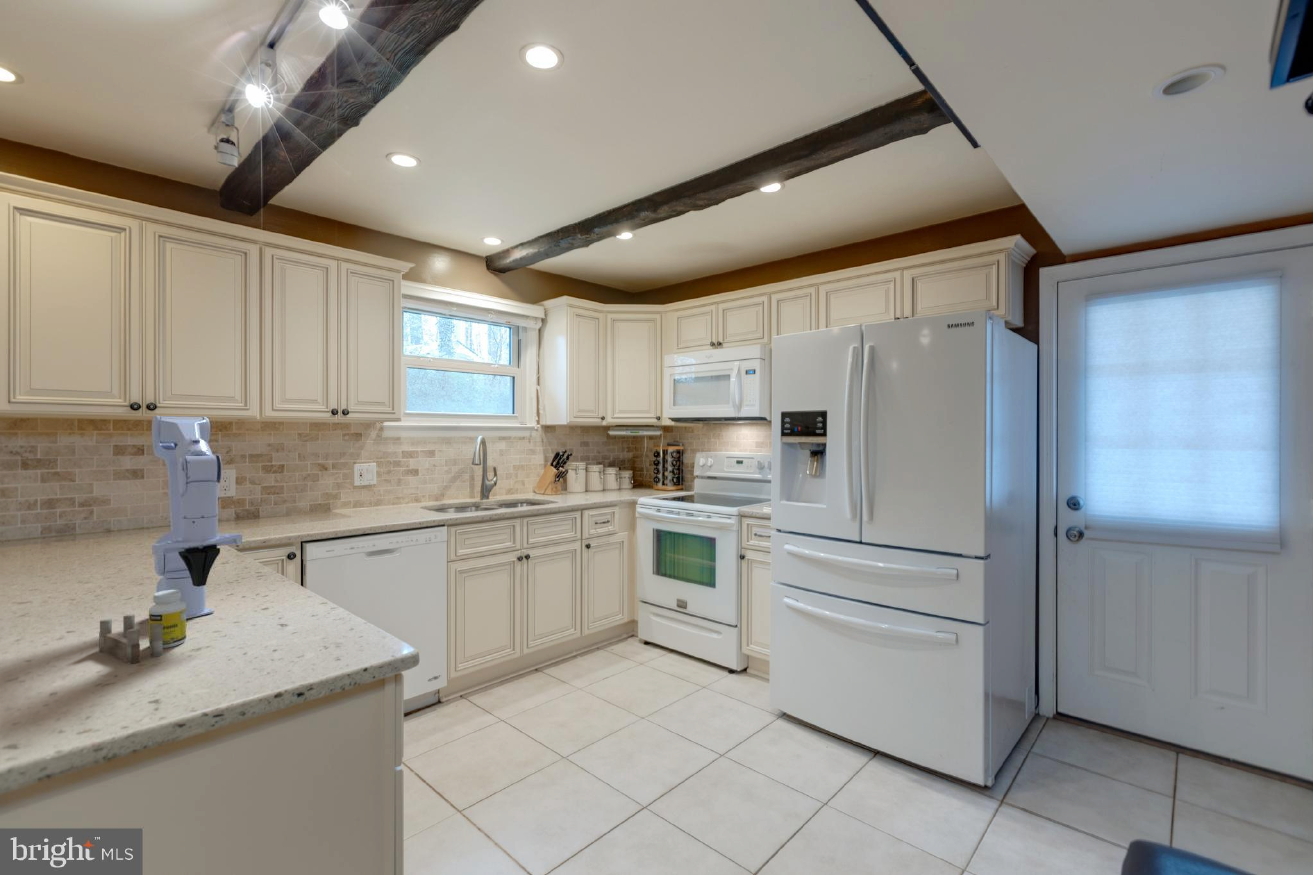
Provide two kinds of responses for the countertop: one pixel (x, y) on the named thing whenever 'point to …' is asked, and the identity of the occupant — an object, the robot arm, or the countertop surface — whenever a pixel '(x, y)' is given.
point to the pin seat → (128, 640)
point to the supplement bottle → (169, 617)
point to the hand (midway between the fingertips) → (199, 585)
